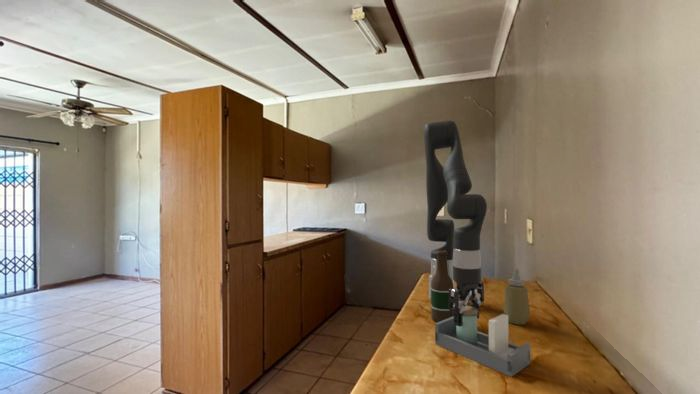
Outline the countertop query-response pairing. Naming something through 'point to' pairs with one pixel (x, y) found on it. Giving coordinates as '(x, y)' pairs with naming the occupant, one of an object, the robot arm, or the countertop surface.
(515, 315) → the squeeze bottle
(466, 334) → the jar
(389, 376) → the countertop surface
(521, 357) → the gray rectangular tray
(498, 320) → the pusher
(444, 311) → the beer bottle
